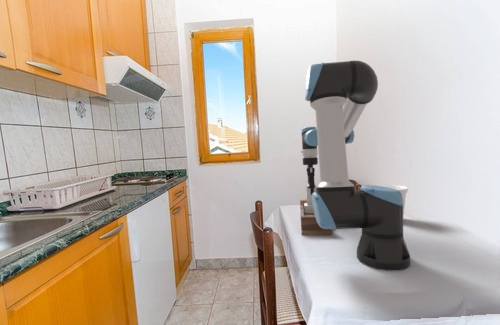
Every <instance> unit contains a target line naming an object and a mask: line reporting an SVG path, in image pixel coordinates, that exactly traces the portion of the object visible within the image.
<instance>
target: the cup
mask: <svg viewBox="0 0 500 325" xmlns="http://www.w3.org/2000/svg"><path fill="white" fill-rule="evenodd" d="M380 186H382V187H388V188H393V189H396V190H398V191H400V192H401V194H402V198H403V205H404V206H403V216H404V213H405V205H406V204H405V203H406V197H407V196H406V195H407V193H408V192H409V191H408V190H409V188H408V187H407V186H403V185H398V184H396V185H395V184H394V185H393V184H384V185H380Z"/></svg>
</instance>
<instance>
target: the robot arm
mask: <svg viewBox="0 0 500 325" xmlns="http://www.w3.org/2000/svg"><path fill="white" fill-rule="evenodd" d="M305 77H306V79H305V87H304V88H305V89H304V99H305V101H308V102H309V103H310V107H311V109H313V110H314V111H315V122H316V126H305V127H302V128H301V134H300V135H301V146H302V151H301V152H300V153H302V157H303V158H302V165H303V166H307V167H306V175H307V185H309V187H308V188H309V199H310V201H312V205H313V210H314V214H315V218H316V221H317V223H318V225H319V226H320V227H321V228H323V229H331V230H334V231H335V230H345V229H347V230H349V229H351V230H352V229H361V235H360V238H359V241H358V244H357V247H356V258H357V260H358V261H359V262H360V263H362V264H363V265H366V266H368V267H371V268H374V269H378V270H383V271H401V270H405V269H408V268H410V266H411V263H412V262H411V255H410V252H409V248H408V246H407V244H406V241H405V239H404V215H403V206H404V205H403V198H402V194H401V192H400V191H398V190H396V189H393V188H388V187H382V186H381V185H373V184H370V185H369V184H365V185H364V184H363V185H361V186H360V188H359V190H355V185H354V183H352V182H351V181H350V180H349V171H348V170H349V169H348V158H347V148H346V145H347V144H352V143H353V142H354V140H355V131H354V128H355V126H356V125H357V123H358V121H359V119H360V117H361V115H362V113H363V112H364V111H365V108H366V106H367V105H368V104H369V103H371V102H372V101H373V100H374V98H375V96H376V94H377V92H378V85H379V80H378V76H377V73H376V72H375V70H374V69H373V67H372V66H371V65H369V64H368V63H366V62H364V61H361V60H347V61H346V60H345V61H336V62H321V63H315V64H311V65H310V66H309V67H308V69H307V73H306V76H305ZM317 165H318V166H319V178H320V180H319V183H318V184H316V182H315V172H316V170H315V168H314V166H317ZM315 185H316V192H315ZM404 207H405V206H404Z"/></svg>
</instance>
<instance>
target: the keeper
mask: <svg viewBox="0 0 500 325" xmlns="http://www.w3.org/2000/svg"><path fill="white" fill-rule="evenodd" d="M316 186H317V184H315V192H316ZM305 187H306V200H307V203H304V212H305V213H314V210H313V205H312V201H310V199H309V188H308V187H309V185H308V184H306V186H305Z"/></svg>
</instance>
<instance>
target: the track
mask: <svg viewBox="0 0 500 325" xmlns="http://www.w3.org/2000/svg"><path fill="white" fill-rule="evenodd" d="M299 201H300V202H299V203H300V204H299V206H300V232H301V235H302V236H303V235H305V236H306V235H307V236H310V235H311V236H332V229H323V228H321V227H320V226H319V225H318V223H317V221H316V218H315V214H314V213H305V212H304V203H307V199H299Z"/></svg>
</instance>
